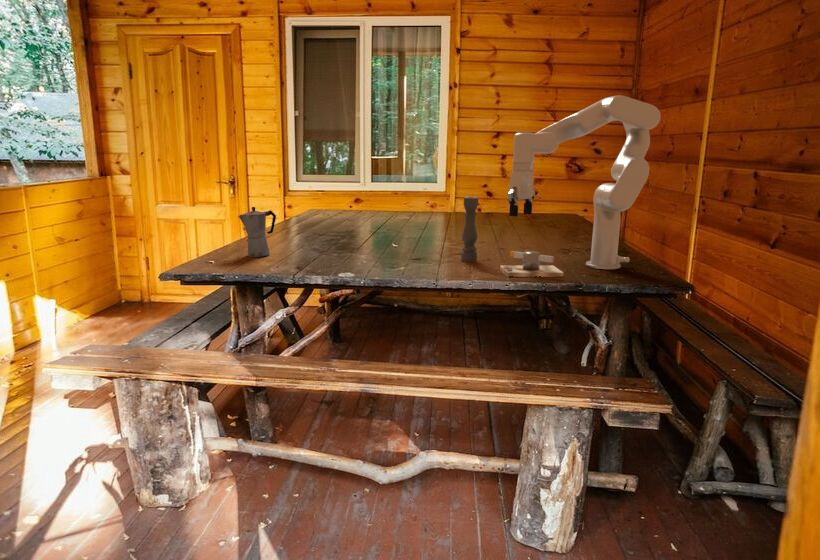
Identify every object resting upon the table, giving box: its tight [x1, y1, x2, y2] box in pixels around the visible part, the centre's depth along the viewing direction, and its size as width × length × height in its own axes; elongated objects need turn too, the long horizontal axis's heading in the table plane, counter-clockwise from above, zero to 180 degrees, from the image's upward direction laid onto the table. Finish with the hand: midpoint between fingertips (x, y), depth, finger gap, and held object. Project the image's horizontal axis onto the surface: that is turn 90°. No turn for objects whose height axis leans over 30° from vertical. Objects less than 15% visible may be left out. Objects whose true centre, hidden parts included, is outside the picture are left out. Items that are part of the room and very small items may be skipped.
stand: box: [499, 264, 564, 278], centre depth 204 cm, size 20×12×2 cm, turn 93°
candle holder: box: [460, 196, 479, 263], centre depth 222 cm, size 6×6×25 cm
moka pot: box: [238, 206, 277, 258], centre depth 229 cm, size 10×15×20 cm, turn 127°
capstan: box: [509, 250, 555, 270], centre depth 203 cm, size 16×6×6 cm, turn 53°
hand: (520, 215), depth 207 cm, fingers open, 9 cm apart
